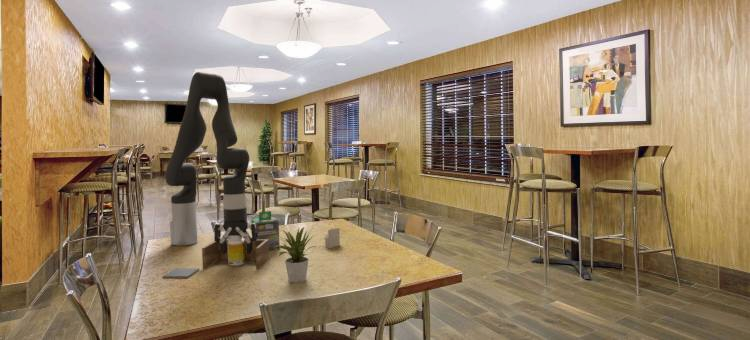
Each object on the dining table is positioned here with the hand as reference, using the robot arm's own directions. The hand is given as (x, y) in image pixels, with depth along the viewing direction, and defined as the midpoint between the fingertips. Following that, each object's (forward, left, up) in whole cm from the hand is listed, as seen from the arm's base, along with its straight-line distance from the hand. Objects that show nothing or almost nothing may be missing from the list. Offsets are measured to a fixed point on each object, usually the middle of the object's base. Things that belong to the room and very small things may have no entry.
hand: (236, 253), depth 149 cm
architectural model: (+30, +24, -4) cm, 38 cm away
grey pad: (-14, -11, -4) cm, 18 cm away
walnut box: (0, 0, -4) cm, 4 cm away
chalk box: (+4, +21, -4) cm, 22 cm away
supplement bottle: (0, 0, -4) cm, 4 cm away
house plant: (+24, -15, -4) cm, 28 cm away
